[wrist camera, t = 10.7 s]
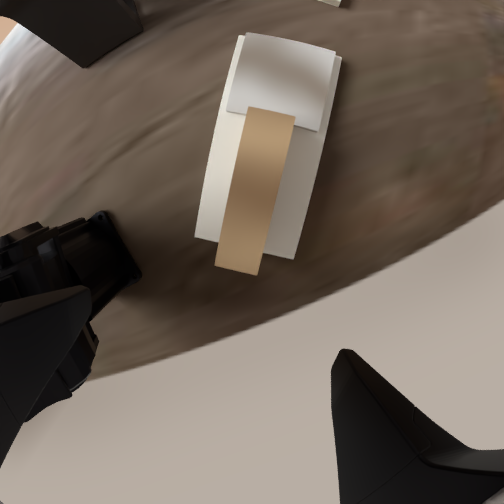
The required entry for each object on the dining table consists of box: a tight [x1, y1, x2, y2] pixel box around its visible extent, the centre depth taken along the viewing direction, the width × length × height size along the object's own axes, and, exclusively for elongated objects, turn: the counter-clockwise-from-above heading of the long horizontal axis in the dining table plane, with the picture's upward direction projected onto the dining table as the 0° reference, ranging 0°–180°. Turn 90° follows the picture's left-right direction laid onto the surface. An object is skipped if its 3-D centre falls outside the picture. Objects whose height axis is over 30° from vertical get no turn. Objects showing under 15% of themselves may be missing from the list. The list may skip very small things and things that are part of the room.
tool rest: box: [195, 35, 342, 260], centre depth 18 cm, size 15×7×1 cm, turn 168°
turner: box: [214, 32, 336, 276], centre depth 16 cm, size 15×6×4 cm, turn 167°
